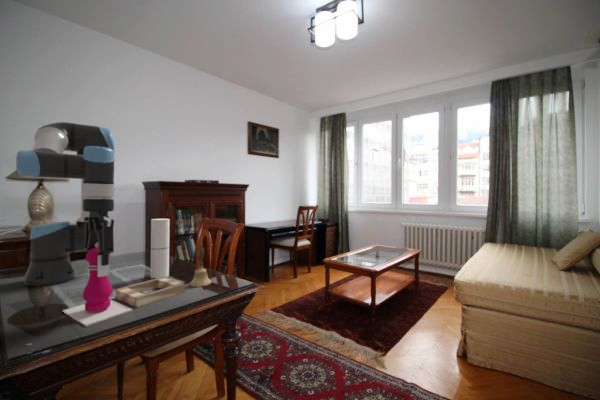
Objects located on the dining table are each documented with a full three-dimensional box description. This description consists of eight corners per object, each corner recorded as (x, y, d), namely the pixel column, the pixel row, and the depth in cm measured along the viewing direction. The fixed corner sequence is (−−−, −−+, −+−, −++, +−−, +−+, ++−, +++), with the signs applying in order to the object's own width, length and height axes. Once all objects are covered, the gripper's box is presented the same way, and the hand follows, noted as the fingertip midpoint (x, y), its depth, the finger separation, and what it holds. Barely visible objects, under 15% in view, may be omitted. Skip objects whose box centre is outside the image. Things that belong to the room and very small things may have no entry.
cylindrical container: (150, 279, 113) (150, 220, 112) (150, 274, 119) (151, 218, 118) (169, 277, 116) (169, 219, 115) (168, 272, 122) (169, 218, 122)
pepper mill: (96, 313, 78) (97, 245, 77) (76, 311, 79) (76, 243, 79) (118, 304, 85) (118, 241, 84) (99, 301, 86) (99, 239, 86)
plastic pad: (62, 312, 81) (62, 310, 81) (107, 299, 91) (107, 297, 91) (85, 326, 73) (85, 324, 73) (132, 310, 83) (132, 309, 83)
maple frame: (115, 297, 92) (115, 289, 92) (162, 284, 107) (162, 276, 107) (137, 307, 85) (137, 298, 85) (184, 291, 100) (184, 283, 100)
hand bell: (187, 287, 105) (188, 246, 104) (191, 280, 113) (192, 242, 112) (210, 286, 106) (210, 246, 106) (212, 279, 114) (213, 242, 114)
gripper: (128, 199, 80) (127, 276, 80) (98, 197, 89) (98, 266, 90) (99, 199, 73) (98, 283, 74) (70, 197, 83) (70, 271, 83)
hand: (98, 273), depth 82 cm, fingers closed on pepper mill, 6 cm apart
